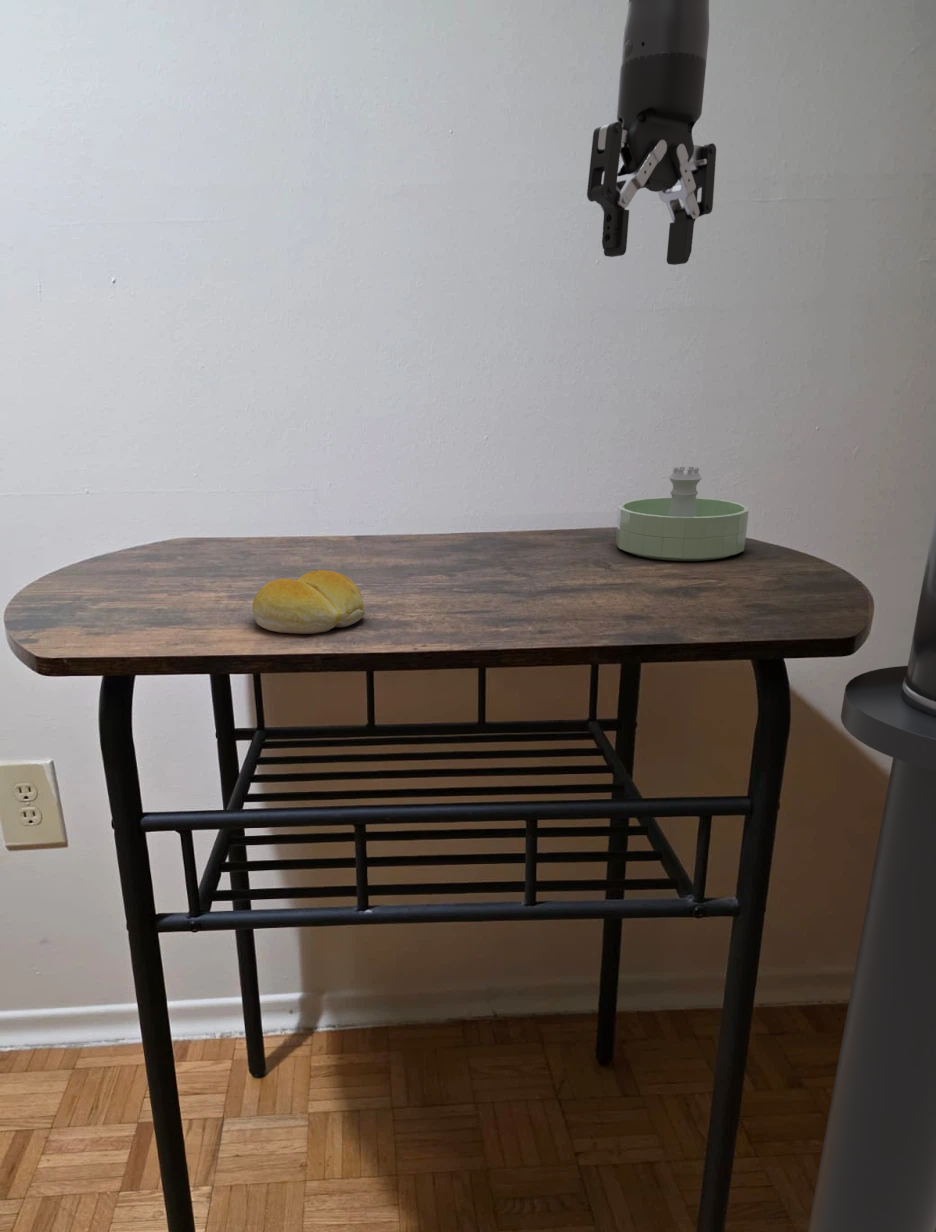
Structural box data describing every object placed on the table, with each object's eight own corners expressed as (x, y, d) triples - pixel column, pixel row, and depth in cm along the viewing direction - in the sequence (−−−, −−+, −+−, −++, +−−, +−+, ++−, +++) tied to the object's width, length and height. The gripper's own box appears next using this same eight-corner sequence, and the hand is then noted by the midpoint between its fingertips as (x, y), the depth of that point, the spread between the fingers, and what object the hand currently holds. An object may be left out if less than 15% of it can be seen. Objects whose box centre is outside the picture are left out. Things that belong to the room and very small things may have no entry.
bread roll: (237, 621, 80) (233, 573, 79) (331, 603, 85) (328, 558, 84) (284, 643, 74) (280, 592, 73) (382, 623, 79) (380, 575, 77)
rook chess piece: (660, 549, 101) (666, 471, 98) (655, 541, 105) (661, 465, 102) (704, 550, 100) (712, 471, 97) (698, 541, 104) (705, 465, 101)
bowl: (769, 557, 98) (775, 512, 96) (653, 567, 95) (656, 521, 94) (702, 534, 110) (705, 494, 108) (596, 542, 107) (598, 501, 105)
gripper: (638, 33, 80) (622, 248, 86) (749, 66, 88) (728, 262, 93) (575, 58, 86) (564, 258, 91) (684, 87, 94) (667, 270, 99)
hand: (646, 260), depth 92 cm, fingers open, 8 cm apart
